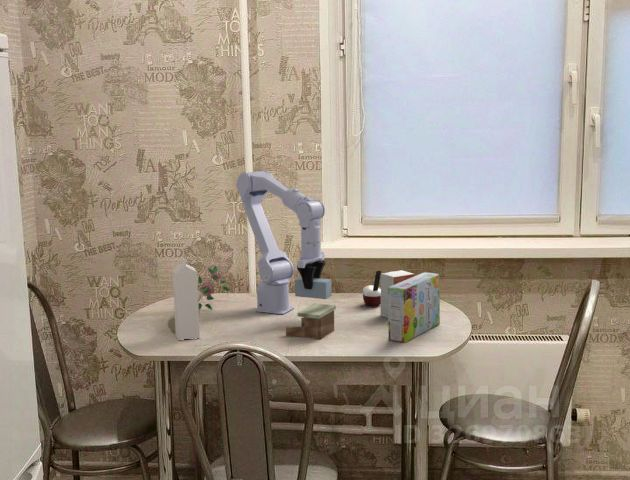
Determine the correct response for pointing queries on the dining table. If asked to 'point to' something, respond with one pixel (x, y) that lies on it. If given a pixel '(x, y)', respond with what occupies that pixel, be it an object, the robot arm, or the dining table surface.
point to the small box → (388, 281)
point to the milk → (186, 302)
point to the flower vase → (202, 294)
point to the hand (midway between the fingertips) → (311, 287)
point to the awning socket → (314, 322)
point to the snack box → (413, 307)
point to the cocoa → (373, 292)
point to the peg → (314, 288)
